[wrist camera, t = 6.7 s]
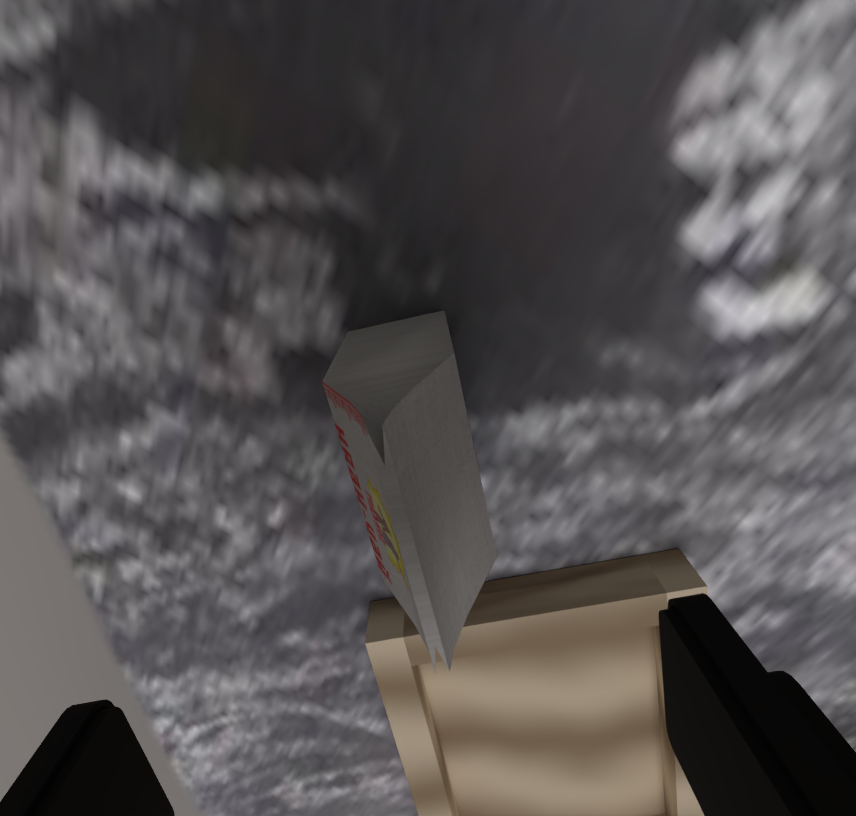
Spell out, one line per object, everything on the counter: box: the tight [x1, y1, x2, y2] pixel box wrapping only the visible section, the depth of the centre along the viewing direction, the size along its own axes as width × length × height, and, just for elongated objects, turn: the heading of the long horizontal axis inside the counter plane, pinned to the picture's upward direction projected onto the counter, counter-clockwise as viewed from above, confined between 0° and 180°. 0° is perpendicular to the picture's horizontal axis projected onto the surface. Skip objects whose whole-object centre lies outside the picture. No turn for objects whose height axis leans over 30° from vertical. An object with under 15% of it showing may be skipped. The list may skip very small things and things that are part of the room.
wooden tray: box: [365, 549, 707, 816], centre depth 27 cm, size 18×14×2 cm
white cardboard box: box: [322, 310, 497, 674], centre depth 17 cm, size 4×7×10 cm, turn 12°
